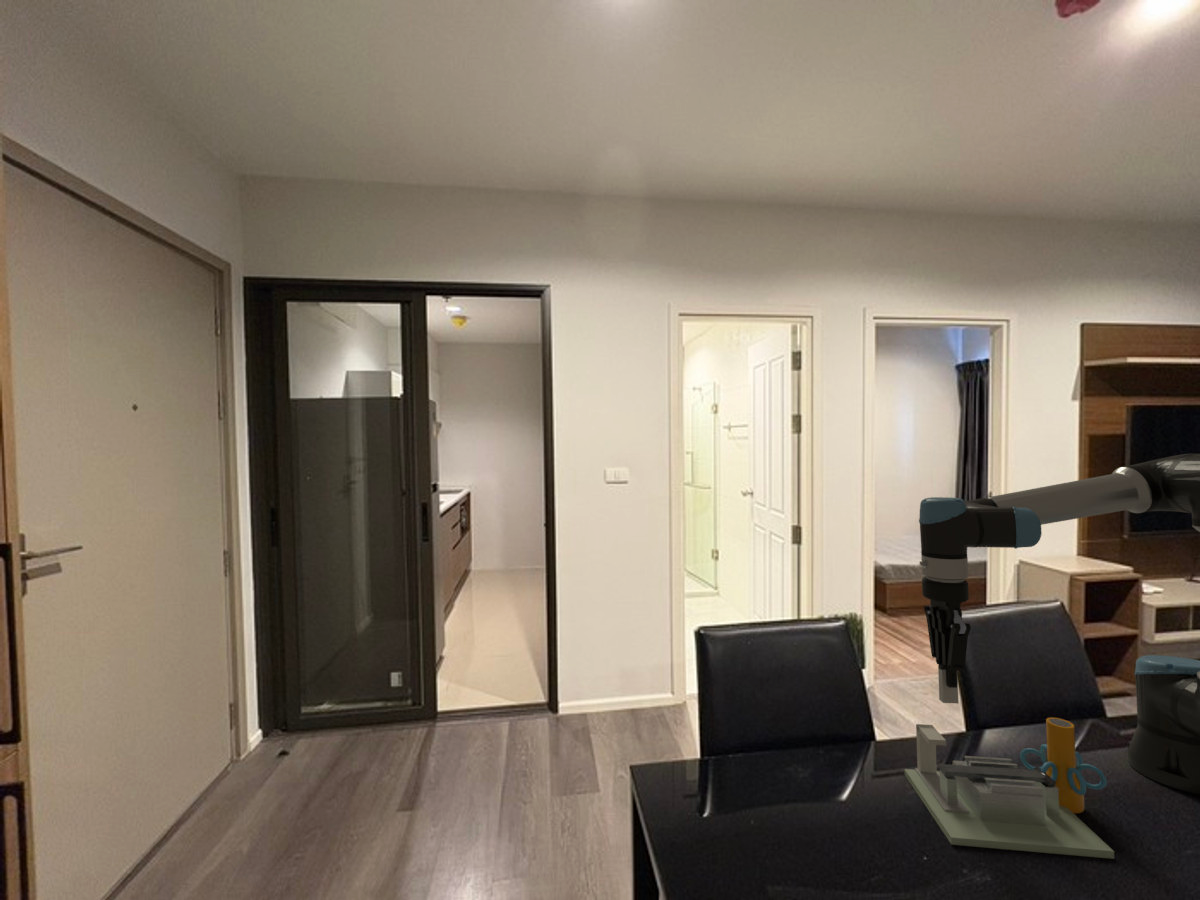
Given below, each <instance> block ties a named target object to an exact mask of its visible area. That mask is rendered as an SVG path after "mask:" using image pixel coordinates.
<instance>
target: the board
mask: <svg viewBox="0 0 1200 900" xmlns="http://www.w3.org/2000/svg"><path fill="white" fill-rule="evenodd" d="M904 776H905V779H907V780H908V782H909V783H910V785H911V787H912V788H913V790H914V791H915V792H916V794H917V795H918V797H919V798H920V800H921V801H922V803H923V804H924V806H925V807H926V809H927V810H928V812H929V813H930V816H932V818H933V820H934V821H935V822H936V824H937V826H938V827H939V829H940V830H941V831H942V833H943V834H944V836H945V837H946V839H947V840H948V841H949V843H950V845H951V846H952V845H953V846H962V847H963V846H966V847H976V848H988V849H998V850H1010V851H1021V852H1023V851H1024V852H1033V853H1044V854H1056V855H1067V856H1078V857H1089V858H1100V859H1115V850H1113V849H1112V848H1111V847H1110V846H1109V845H1108V844H1107V843H1106V842H1105V841H1103V839H1101V837H1099V836H1098V835H1097V834H1096V833H1095V832H1094V830H1092V829H1090V827H1088V826H1087V824H1085V823H1084V822H1083V821H1082V820H1081V819H1080V818H1079V817H1078V816H1077V814H1076V813H1072V812H1071V811H1070V810H1069V809H1068V808H1067V807H1063V806H1060V805H1059V817H1057V816H1046V815H1045V826H1036V825H1023V824H1011V823H999V822H986V821H981V820H980V819H979V818H978V817H977V815H976V814H975V813H974V812H973V810H972V809H971V808H970V807H969V805H968V804H967V803H966V802H965V800H964V799H963V798H962V796H961V795H960V794H959V793H958V791H957V805H948V804H947V803H946V801H945V800H944V799H943V797H942V796H941V795H940V770H937V773H926V772H920V771H919V769H918V768H917V767H915V768H914V769H912V768H911V769H910V768H904Z"/></svg>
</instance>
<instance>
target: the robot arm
mask: <svg viewBox="0 0 1200 900" xmlns="http://www.w3.org/2000/svg"><path fill="white" fill-rule="evenodd" d="M919 504H920V505H919V519H918V522H919V523H918V524H919V531H920V533H919V534H920V536H919V537H920V548H921V550H920V554H921V555H920V556H921V557H920V559H921V560H919V565H920V566H921V574H922V575H923V576H924V577H923V578H921V590H922V591H921V593H922V596H923V597H924V598H926V599H927V600H930V601H929V602H930V603H929V604H930V605H923V610H924V611H923V612H924V613H925V614H924V615H925V617H926V624H927V631H928V632H927V633H928V637H929V638H928V639H929V647H930V653H931V654H930V655H931V657H932V658H933V659H935V663H936V664H937V665H938V666H937V673H938V674H937V675H938V695H939V699H938V700H939V701H940V702H942V703H943V704H959V683H958V682H959V681H958V680H959V679H958V672H959V671H965V668H966V658H967V650H968V649H967V647H968V640H969V634H970V632H971V624H970V623H967V622H966V623H965V622H964V621H963V612H962V607H961V604H962V603H966V602H967V601H969V598H970V597H969V582H968V581H967V579H968V578H969V562H968V560H969V559H968V548H1004V549H1005V548H1011V549H1016V550H1017V549H1018V548H1019V549H1020V548H1021V549H1022V548H1032V547H1035V546H1036V545H1037V544H1039V541H1040V540H1041V537H1042V525H1049V524H1054V523H1060V522H1065V521H1071V520H1076V519H1077V520H1078V519H1081V518H1082V519H1083V518H1089V517H1094V516H1099V515H1107V514H1112V513H1117V512H1123V511H1128V512H1129V513H1133V514H1141V513H1147V512H1177V513H1187V514H1191V523H1192V524H1191V526H1192V528H1194V529H1195V530H1196V531H1197V532H1199V533H1200V453H1182V454H1178V455H1177V454H1176V455H1171V456H1168V457H1167V456H1166V457H1161V458H1158V459H1154V460H1153V459H1152V460H1149V461H1145V462H1140V463H1135V464H1131V465H1127V466H1121V467H1118V468H1116V469H1115V470H1113V472H1112V473H1111V474H1105V475H1101V476H1095V477H1089V478H1083V479H1079V480H1074V481H1068V482H1063V483H1058V484H1057V483H1056V484H1052V485H1046V486H1041V487H1036V488H1035V487H1034V488H1031V489H1025V490H1020V491H1015V492H1014V491H1013V492H1009V493H1003V494H998V495H992V496H987V497H983V498H977V499H976V498H975V499H971V500H966V501H965V500H964V499H963V498H961V497H948V496H947V497H942V496H939V497H933V496H932V497H926V498H924V499H922V500H921V501H920V503H919ZM1134 669H1135V670H1134V674H1133V675H1134V677H1135V691H1136V693H1135V696H1136V697H1135V698H1136V715H1137V716H1136V718H1137V724H1136V725H1137V726H1136V728H1135V730H1134V733H1133V736H1132V738H1131V740H1130V743H1129V745H1128V746H1127V747H1126V756H1127V757H1126V759H1127V763H1128V764H1129V766H1130V767H1131V768H1132V769H1134V770H1135V771H1136V772H1139V774H1142V775H1143V776H1144V777H1147V778H1149V779H1151V780H1152V781H1155V782H1158V783H1160V784H1162V785H1165V786H1166V787H1167V786H1168V787H1170V788H1173V789H1176V790H1179V791H1183V792H1186V793H1191V794H1195V795H1200V660H1198V659H1192V658H1188V657H1182V656H1181V657H1180V656H1172V655H1156V654H1155V655H1154V654H1149V655H1143V656H1140V657H1138V658H1137V659H1136V661H1135V668H1134Z"/></svg>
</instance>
